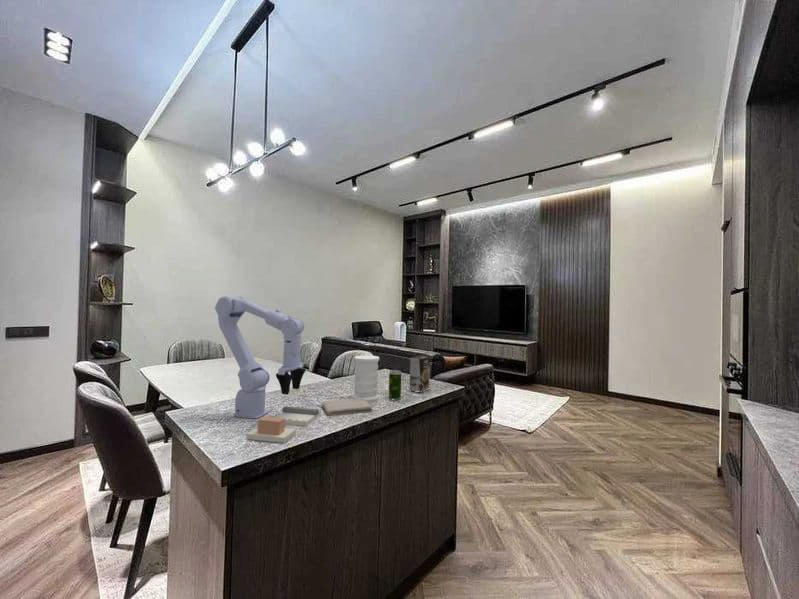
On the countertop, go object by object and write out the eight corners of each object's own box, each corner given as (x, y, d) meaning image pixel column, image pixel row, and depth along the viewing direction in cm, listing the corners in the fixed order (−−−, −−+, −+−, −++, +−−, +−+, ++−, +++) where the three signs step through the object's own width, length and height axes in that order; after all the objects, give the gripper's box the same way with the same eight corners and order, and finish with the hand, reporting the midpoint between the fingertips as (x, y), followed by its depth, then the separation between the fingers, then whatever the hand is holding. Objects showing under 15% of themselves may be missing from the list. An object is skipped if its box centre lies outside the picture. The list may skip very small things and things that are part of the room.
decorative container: (346, 398, 147) (347, 356, 147) (366, 393, 156) (367, 354, 156) (365, 404, 139) (366, 360, 140) (384, 398, 148) (385, 357, 148)
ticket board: (271, 422, 115) (271, 414, 115) (289, 412, 127) (289, 403, 127) (307, 426, 113) (307, 417, 113) (321, 415, 125) (322, 406, 125)
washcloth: (374, 412, 131) (374, 404, 131) (327, 417, 123) (327, 409, 123) (364, 404, 141) (364, 396, 141) (320, 408, 134) (321, 400, 134)
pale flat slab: (246, 439, 101) (247, 420, 101) (260, 430, 108) (261, 413, 108) (284, 443, 99) (284, 424, 99) (295, 434, 106) (296, 416, 106)
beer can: (397, 396, 153) (398, 369, 153) (402, 399, 148) (403, 371, 148) (386, 397, 151) (387, 370, 151) (391, 400, 146) (391, 372, 146)
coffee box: (420, 393, 159) (421, 358, 159) (408, 391, 162) (409, 357, 163) (429, 389, 167) (430, 356, 167) (418, 387, 170) (419, 355, 170)
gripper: (292, 356, 113) (291, 397, 113) (311, 350, 127) (310, 387, 127) (273, 355, 114) (271, 396, 114) (293, 349, 128) (292, 386, 128)
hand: (290, 391), depth 121 cm, fingers open, 7 cm apart
